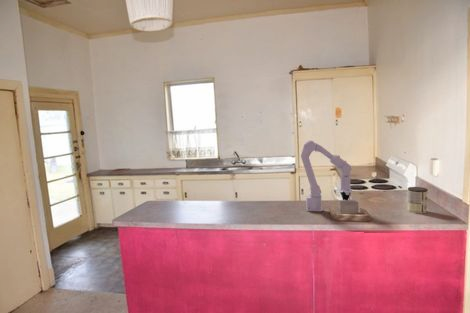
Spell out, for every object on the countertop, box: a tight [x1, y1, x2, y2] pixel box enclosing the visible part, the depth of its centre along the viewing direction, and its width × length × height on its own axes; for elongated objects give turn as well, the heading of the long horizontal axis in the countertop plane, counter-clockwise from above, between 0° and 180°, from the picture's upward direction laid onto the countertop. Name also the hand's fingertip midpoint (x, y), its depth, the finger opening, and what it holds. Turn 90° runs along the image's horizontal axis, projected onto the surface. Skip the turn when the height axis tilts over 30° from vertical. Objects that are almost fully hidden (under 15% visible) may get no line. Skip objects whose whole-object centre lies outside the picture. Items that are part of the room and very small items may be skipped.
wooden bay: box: [329, 206, 372, 222], centre depth 184 cm, size 20×17×3 cm
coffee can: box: [407, 186, 428, 215], centre depth 190 cm, size 10×10×14 cm
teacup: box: [338, 199, 359, 215], centre depth 187 cm, size 14×11×8 cm
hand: (345, 203), depth 195 cm, fingers closed
